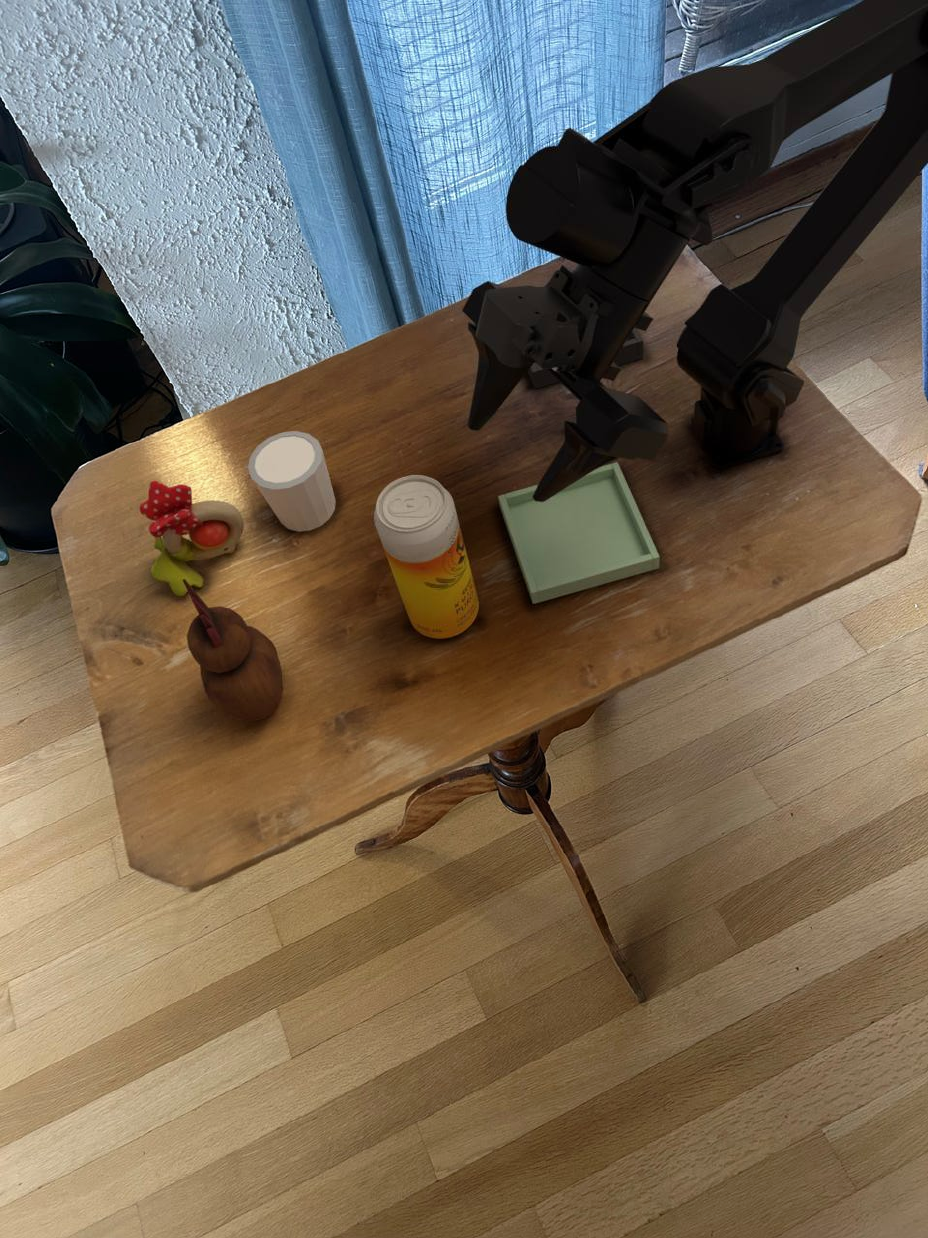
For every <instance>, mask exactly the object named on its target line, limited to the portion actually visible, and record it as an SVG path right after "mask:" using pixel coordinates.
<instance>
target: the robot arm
mask: <svg viewBox="0 0 928 1238" xmlns="http://www.w3.org/2000/svg"><path fill="white" fill-rule="evenodd" d="M889 76H890V81H889V85H888V91H887V95H886V100H885V105H884V110H883V112H882V113H881V115H880V117H879V118H878V120H877V121H876V122H874V123H875V124H873V126H872V127H871V128H870V129H869V131H868V133H867V134H866V135H865V136H864V137H863V139H862V140H861V141H860V142H859V144H858V145H857V146H856V147H855V149H854V150H853V151H852V152H851V154H850V155H849V156H848V158H846V160H845V161H844V163H842V165H841V167H840V168H839V169H838V170H837V171H836V172H835V174H834V175H833V177H831V178H830V181H829V182H828V183H827V184H826V185H825V187H824V188H823V189H822V191H821V192H820V193H819V194H818V196H817V197H816V198H815V200H814V201H813V202H812V203H811V205H810V206H809V207H808V208H807V209H806V211H805V212H804V213H803V215H802V216H801V217H800V218H799V220H798V221H797V222H796V224H795V225H794V226H793V227H792V228H791V230H790V231H789V232H788V234H786V236H785V237H784V239H783V240H782V241H781V242H780V244H779V245H778V246H777V248H776V249H775V250H774V251H773V252H772V254H771V255H770V256H769V258H768V259H767V260H766V261H765V263H764V264H763V265H762V267H761V268H760V269H759V270H758V272H757V273H756V274H755V275H754V276H753V277H752V278H751V279H750V280H748V281H745V282H743V283H740V284H739V285H736V286H734V287H732V288H729V287H727V286H726V285H725V284H723V283H719V284H718V285H717V286H715V287H713V288H712V289H711V290H710V291H709V293H708V294H707V296H706V298H705V299H704V301H703V302H702V303H701V305H700V307H699V308H698V309H697V310H695V312H694V313H693V314H692V315H691V316H690V317H689V318H687V319H686V320H685V322H684V325H685V327H684V328H683V329H682V331H681V333H680V335H679V338H678V339H677V342H676V345H675V346H676V348H677V353H676V363H677V366H678V367H679V368H680V369H681V371H682V372H684V373H685V374H686V375H687V376H688V377H690V378H691V379H692V380H693V381H694V382H696V383H697V384H698V385H699V386H700V392H699V393H700V394H699V395H700V396H699V399H697V400H696V401H695V402H694V408H693V416H692V418H691V420H690V425H691V427H692V434H693V436H694V438H695V440H696V442H697V444H698V446H699V448H700V450H701V451H702V452H703V453H706V455H707V457H708V459H709V461H710V463H711V465H712V467H713V468H714V469H715V470H722V469H726V468H729V467H733V466H736V465H740V464H743V463H747V462H751V461H754V460H758V459H761V458H765V457H768V456H771V455H776V454H779V453H782V452H783V450H784V446H785V445H784V443H783V441H782V439H781V438H780V437H781V436H779V433H778V432H777V431H778V425H779V421H780V420H781V419H782V418H784V413H785V411H786V409H787V408H788V407H789V406H792V405H793V404H794V403H796V401H797V400H798V397H799V396H800V393H801V391H802V389H803V387H804V384H805V380H804V379H803V378H801V377H800V376H799V375H797V374H796V373H795V372H794V371H792V370H791V369H790V368H789V367H788V366H789V364H790V362H791V361H792V360H793V358H794V356H795V352H796V346H797V341H798V336H799V331H800V330H799V329H800V325H801V320H802V318H803V316H804V315H805V314H806V312H807V311H808V309H809V308H811V306H812V305H813V303H814V302H815V301H816V300H817V298H818V297H820V295H821V294H822V292H823V291H825V289H826V288H827V287H828V285H829V284H830V283H831V281H833V279H834V278H835V276H837V275H838V273H839V272H840V271H841V269H842V268H843V267H844V266H845V265H846V264H847V262H848V261H849V260H850V259H851V258H852V256H853V255H854V254H855V252H856V251H857V250H858V249H859V247H860V246H861V245H862V244H863V243H864V241H865V240H867V238H868V237H869V236H870V234H872V232H873V231H874V230H875V228H876V227H877V226H878V225H879V223H880V222H881V221H882V220H883V219H884V217H885V216H887V214H888V212H889V211H890V210H891V209H892V207H893V206H894V205H895V204H896V203H897V202H898V200H899V199H900V198H901V197H902V195H904V193H905V192H906V190H908V188H909V187H910V186H911V185H912V183H913V182H914V181H915V180H916V179H917V177H918V176H919V175H920V174H921V172H922V171H923V170H924V169H925V168H926V167H927V165H928V0H861V1H859V2H858V3H856V4H855V5H853V6H851V7H849V8H847V9H845V10H844V11H842V12H841V13H839V14H837V15H835V16H834V17H832V18H830V19H829V20H827V21H825V22H823V23H822V24H820V25H819V26H817V27H814V28H812V29H811V30H809V31H808V32H807V33H805V34H803V35H801V36H799V37H798V38H796V39H794V40H792V41H791V42H790V43H788V44H785V45H784V46H783V47H781V48H779V49H777V50H776V51H774V52H772V53H770V54H769V55H767V56H765V57H764V58H762V59H758V60H756V61H753V62H751V63H747V64H736V65H735V64H734V65H719V66H718V65H717V66H710V67H707V68H704V69H701V70H699V71H697V72H694V73H691V74H688V75H685V76H683V77H679V78H678V79H674V80H673V81H671V82H669V83H667V84H666V85H665V86H664V87H662V88H661V89H660V90H659V91H657V93H655V95H654V96H653V97H652V98H651V99H650V101H649V102H648V103H646V104H644V105H643V106H642V107H641V108H638V110H636V111H634V112H633V113H632V114H630V115H629V116H628V117H626V118H625V119H624V120H622V121H621V122H619V123H618V124H616V125H615V126H613V127H612V128H611V129H609V130H608V131H606V132H605V133H603V134H602V135H601V136H599V137H598V138H597V139H595V140H594V141H592V140H590V139H589V138H588V137H586V136H585V135H583V134H582V133H580V132H579V131H577V130H575V129H573V128H572V127H568V128H567V129H565V130H564V132H563V134H562V136H561V137H560V140H559V142H558V144H557V145H551V146H545V147H543V148H541V149H539V150H537V151H536V152H534V153H533V154H532V155H531V156H529V157H528V159H527V160H526V161H525V162H524V163H523V164H520V165H519V166H518V167H517V169H516V171H515V173H514V174H513V177H512V178H511V181H510V183H509V186H508V191H507V194H506V200H505V215H506V222H507V225H508V228H509V230H510V231H511V234H512V235H513V236H514V237H515V238H516V239H517V240H518V241H521V242H522V243H525V244H527V245H530V246H532V247H534V248H537V249H540V250H542V251H545V252H548V253H549V254H552V255H555V256H557V257H560V258H562V259H565V260H567V261H570V262H572V263H574V264H575V266H574V268H572V267H569V266H566V265H563V264H561V266H560V267H559V269H557V270H555V271H554V272H553V274H552V276H551V278H550V279H549V280H548V282H547V283H546V284H545V285H544V286H535V285H519V286H518V285H517V286H505V285H501V284H499V283H495V282H493V281H490V280H487V281H485V282H483V283H481V284H480V285H478V286H475V287H474V288H473V289H472V291H471V293H470V294H469V296H468V298H467V300H466V302H465V304H464V306H463V307H462V310H461V311H462V312H463V314H464V315H466V317H468V318H469V320H471V321H472V322H470V321H468V323H467V331H468V332H469V333H470V334H471V335H472V338H473V341H474V344H475V346H476V349H477V353H478V360H477V361H478V362H477V371H476V377H475V384H474V389H473V394H472V399H471V405H470V410H469V416H468V421H467V428H469V430H470V431H471V430H472V431H476V432H478V431H480V430H481V429H483V427H484V426H485V425H486V424H487V423H488V422H489V421H490V420H491V419H492V418H493V417H494V415H495V414H496V413H497V411H498V410H499V409H500V407H501V406H502V405H503V404H504V402H505V401H506V400H507V398H509V396H510V394H511V393H512V392H513V391H514V389H515V388H516V387H517V385H518V384H519V383H520V382H521V381H522V379H523V378H524V377H525V376H526V374H528V370H529V369H530V367H531V366H532V365H533V364H534V363H537V364H538V365H539V366H540V367H541V368H542V369H547V370H548V371H550V372H551V373H552V374H553V375H554V376H555V377H556V378H557V379H558V380H559V381H560V382H559V383H561V384H562V386H564V387H565V388H566V389H567V390H568V391H569V392H570V393H571V394H572V395H573V396H574V397H575V398H576V399H577V400H578V401H579V402H578V403H577V406H576V407H575V421H574V422H573V421H569V420H564V422H563V428H564V441H563V444H562V445H561V446H560V448H559V450H558V451H557V453H556V455H554V458H553V460H552V461H551V463H550V464H549V466H548V467H547V469H546V470H545V472H544V473H543V475H542V477H541V479H540V480H539V482H538V484H537V485H538V486H537V488H536V490H535V492H534V494H533V499H534V500H535V501H537V502H544V501H546V500H548V499H549V498H551V497H552V496H554V495H556V494H557V493H559V492H560V491H562V490H564V489H565V488H567V487H568V486H570V485H571V484H573V483H575V482H576V481H578V480H579V479H581V478H582V477H584V476H586V475H587V474H589V473H591V472H592V471H594V470H596V469H598V468H600V467H602V466H605V465H609V464H611V463H612V462H614V461H616V460H619V459H620V458H621V459H625V460H631V461H635V460H636V459H640V460H644V461H645V460H646V461H649V462H650V461H651V462H654V460H656V458H657V456H658V455H659V453H660V452H661V450H662V449H663V448H664V446H666V444H667V441H668V435H669V424H668V422H667V421H666V420H665V419H664V418H663V417H661V415H660V414H659V413H657V412H656V411H655V410H654V409H653V408H652V407H651V406H649V404H647V403H646V402H645V400H643V399H642V398H641V397H640V396H639V395H635V394H631V393H628V392H624V391H621V390H617V389H614V388H611V387H607V386H606V385H605V384H603V383H602V382H601V381H602V379H605V380H609V381H612V382H614V381H615V380H616V379H617V377H618V376H619V374H620V372H621V370H622V368H621V367H620V366H619V365H618V366H617V365H616V364H615V363H614V362H613V361H614V359H615V358H616V356H617V354H618V353H619V351H620V350H621V348H622V347H623V345H624V343H625V342H626V340H627V339H628V337H629V336H630V334H631V332H632V331H633V329H634V328H637V329H638V330H640V331H643V332H646V331H647V330H648V328H649V327H650V325H651V323H652V322H653V321H654V318H653V317H652V316H651V315H649V314H648V313H647V312H646V310H647V309H648V307H649V306H650V304H651V302H652V301H653V299H654V298H655V296H656V294H657V293H658V291H659V289H660V288H661V287H662V285H663V284H664V282H665V280H666V278H668V275H669V274H670V272H671V271H672V269H673V267H674V266H675V264H676V263H677V261H678V260H679V258H680V256H681V255H682V253H683V252H684V250H685V249H686V247H687V246H688V244H689V242H690V240H693V241H694V242H697V243H699V244H701V245H703V246H709V245H710V244H712V242H713V237H714V236H713V228H712V225H711V221H710V208H711V207H712V208H713V207H718V206H720V205H722V204H724V203H727V202H728V201H731V200H732V199H733V198H735V197H736V196H738V194H739V193H741V192H742V191H744V190H745V189H746V188H747V187H748V186H750V185H751V184H752V183H754V182H755V181H756V180H757V179H759V178H760V177H761V176H763V175H764V174H765V173H766V172H768V171H769V170H770V169H771V168H772V166H773V164H774V162H775V159H776V158H777V155H778V153H779V151H780V150H781V149H780V148H781V147H782V144H783V143H784V142H785V140H787V139H788V138H789V137H790V136H792V135H793V134H794V133H796V132H797V131H798V130H800V129H801V128H803V127H805V126H807V125H808V124H810V123H812V122H814V121H815V120H817V119H818V118H820V117H822V116H824V115H825V114H827V113H829V112H830V111H832V110H833V109H835V108H837V107H838V106H840V105H842V104H843V103H845V102H847V101H849V100H850V99H852V98H854V97H855V96H857V95H859V94H860V93H862V92H863V91H865V90H868V88H870V87H872V86H873V85H875V84H877V83H879V82H880V81H882V80H884V79H885V78H887V77H889ZM569 372H571V373H572V374H574V375H575V376H577V377H576V378H574V377H573V376H572V375H571V374H570V373H569Z"/></svg>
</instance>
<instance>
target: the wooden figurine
mask: <svg viewBox="0 0 928 1238" xmlns="http://www.w3.org/2000/svg"><path fill="white" fill-rule="evenodd" d="M183 583H184V585H185V586H186V588H187V590H188V591H187V593H188V594H189V596H190V599H191V602H192V604H193V606H194V608H195V609H196V611H197V612H198V614H197V615H196V617H194V618H193V619H192V621H191V622H190V624H189V627H188V630H187V635H186V640H187V647H188V650H189V651H190V654H191V656H192V658H193V659H194V660H195V662H196V663H197V664H198V665H199V669H200V671H199V673H200V678H201V682H202V685H203V690H204V692H205V694H206V696H207V698H208V699H209V700H208V701H210V702H211V704H213V705H214V706H215V707H216V708H217V709H219V710H220V711H221V712H223V713H224V714H226V715H227V716H228V717H231V718H233V719H236V720H241V721H247V722H252V721H259V720H263V719H265V718H266V717H269V716H271V715H272V714H273V712H275V711H276V710H277V709H278V707H279V705H280V703H281V701H282V698H283V693H284V682H283V671H282V666H281V662H280V658H279V655H278V654H279V653H278V651H277V648H276V646H275V644H274V643H273V641H272V640H271V639H270V638H269V637H267V636H266V635H265V634H264V633H262V632H261V631H260V630H259V629H257V628H255V627H253V626H252V625H251V626H250V625H247V623H246V621H245V619H244V618H243V617H242V615H240V614H239V613H238V612H236V611H235V610H233V609H231V608H229V607H225V606H221V605H219V606H211V607H208V605H207V604H206V602H204V600H203V599H202V598H201V597H200V596H199V594H198V592H196V590H195V589H194V588H193V587H192V586H190V585H189V584H188V582H187V581H186V580H185V579H183Z"/></svg>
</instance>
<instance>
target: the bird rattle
mask: <svg viewBox="0 0 928 1238" xmlns="http://www.w3.org/2000/svg"><path fill="white" fill-rule="evenodd" d="M192 493H193V491H192V487H191V486H189V485H186V484H178V485H177V484H176V485H174V486H168V485H166V484H164V483H163V482H160V481H158V480H153V481H150V483H149V486H148V499H147V500H145V501H144V502H142V503H141V504H140V505H139V512H140V514H141V515H143V516H144V517H145V518H147V519H148V520H151V521H153V522H151V523H150V524H149V526H148V531H149V533H150V535H151V536H152V537H154V541H155V542H154V545H153V547H154V548H155V549H156V550H158V551H159V552H160V554H159V555H158V557H157V558H156V559H155V562H154V563H153V564H152V566H151V568H150V573H151V576H152V578H154V579H156V580H157V581H159V582H167V583H168V585H169V587H170V589H171V591H172V592H173V593H174V595H176V596H178V597H183V596H185V595H187V593H188V590H187V588H186V586H185V585H184V583H183V579H185V580H186V581H187V582H188V584H189V585H190V586H191V587H192V586H193V587H195V588H203V585H204V578H203V576H202V575H201V574H199V573H198V572H197V571H195V570H194V569H193V568H191V567H190V566H188V565H187V563H186V562H188V561H198V560H199V561H200V560H201V561H202V560H206V559H211V558H215V557H218V556H220V555H224V554H231V553H234V552H235V551H236V545H237V544H238V542H239V541H240V539H241V537H242V536H243V533H244V528H245V523H244V518H243V516H242V514H241V512H240V511H239V509H238V508H237V507H236V506H235V505H233V504H231V503H229V502H226V501H223V500H203V501H199V502H194V503H193V494H192ZM187 535H188V537H189V539H188V538H186V537H184V536H187Z"/></svg>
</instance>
